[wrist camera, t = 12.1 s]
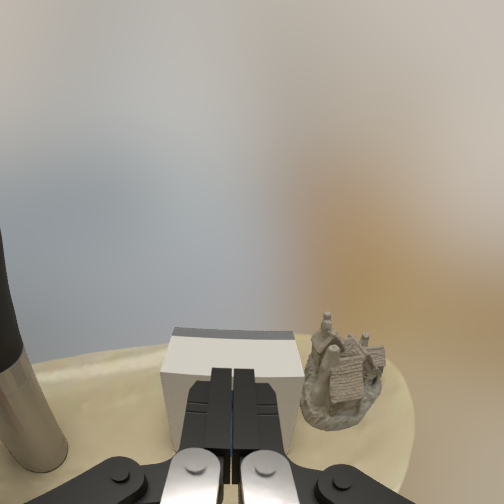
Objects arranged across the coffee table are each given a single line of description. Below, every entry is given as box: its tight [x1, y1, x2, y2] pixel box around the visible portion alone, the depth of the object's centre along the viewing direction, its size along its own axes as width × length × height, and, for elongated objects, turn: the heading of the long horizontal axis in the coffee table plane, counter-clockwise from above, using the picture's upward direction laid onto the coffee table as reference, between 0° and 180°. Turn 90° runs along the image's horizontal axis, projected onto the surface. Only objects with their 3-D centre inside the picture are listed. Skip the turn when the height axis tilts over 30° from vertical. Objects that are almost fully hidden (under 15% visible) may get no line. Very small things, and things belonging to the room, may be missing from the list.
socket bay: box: [160, 327, 305, 455], centre depth 36 cm, size 15×9×15 cm, turn 92°
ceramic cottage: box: [300, 312, 386, 431], centre depth 45 cm, size 16×16×15 cm
